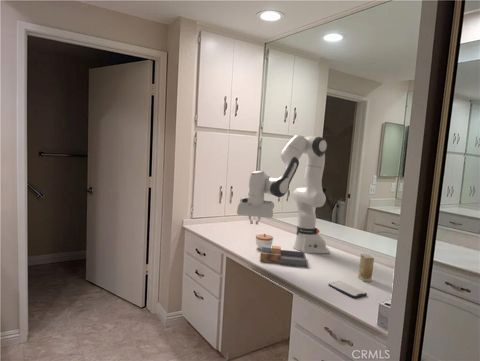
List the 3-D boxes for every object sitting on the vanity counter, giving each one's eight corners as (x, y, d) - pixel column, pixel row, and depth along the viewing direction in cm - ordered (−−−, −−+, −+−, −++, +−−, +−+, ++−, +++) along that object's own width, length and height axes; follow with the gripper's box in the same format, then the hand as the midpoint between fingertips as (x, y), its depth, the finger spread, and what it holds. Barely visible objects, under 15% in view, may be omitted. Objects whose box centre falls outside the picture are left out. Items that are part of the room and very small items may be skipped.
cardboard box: (279, 256, 199) (280, 249, 199) (280, 263, 187) (280, 255, 187) (261, 254, 200) (261, 247, 200) (260, 261, 189) (260, 253, 188)
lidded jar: (258, 251, 207) (259, 236, 206) (252, 246, 217) (253, 231, 217) (274, 251, 210) (275, 236, 209) (268, 246, 220) (269, 231, 220)
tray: (303, 257, 200) (304, 252, 200) (306, 266, 184) (306, 260, 184) (279, 255, 201) (280, 249, 201) (280, 264, 186) (280, 258, 185)
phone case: (326, 286, 160) (354, 300, 146) (327, 283, 160) (354, 296, 146) (340, 284, 165) (367, 296, 151) (340, 280, 164) (368, 293, 151)
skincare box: (357, 277, 174) (360, 253, 173) (366, 277, 174) (368, 253, 173) (363, 281, 168) (365, 257, 166) (371, 282, 168) (374, 257, 167)
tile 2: (270, 249, 196) (271, 245, 196) (270, 252, 191) (271, 248, 191) (262, 249, 197) (262, 244, 196) (261, 251, 192) (262, 247, 191)
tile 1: (280, 250, 196) (280, 246, 195) (280, 253, 191) (280, 248, 190) (271, 249, 196) (271, 245, 196) (271, 252, 191) (271, 248, 191)
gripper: (274, 200, 194) (272, 224, 195) (238, 197, 196) (237, 221, 198) (274, 202, 188) (272, 226, 189) (237, 199, 190) (235, 223, 191)
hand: (254, 224), depth 193 cm, fingers closed
